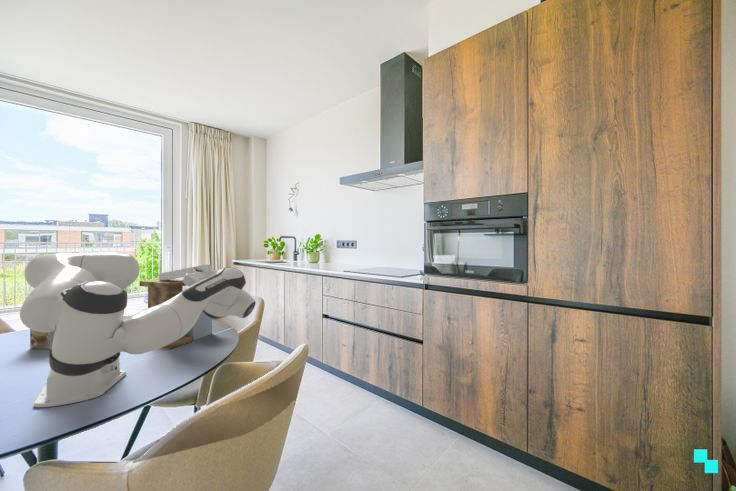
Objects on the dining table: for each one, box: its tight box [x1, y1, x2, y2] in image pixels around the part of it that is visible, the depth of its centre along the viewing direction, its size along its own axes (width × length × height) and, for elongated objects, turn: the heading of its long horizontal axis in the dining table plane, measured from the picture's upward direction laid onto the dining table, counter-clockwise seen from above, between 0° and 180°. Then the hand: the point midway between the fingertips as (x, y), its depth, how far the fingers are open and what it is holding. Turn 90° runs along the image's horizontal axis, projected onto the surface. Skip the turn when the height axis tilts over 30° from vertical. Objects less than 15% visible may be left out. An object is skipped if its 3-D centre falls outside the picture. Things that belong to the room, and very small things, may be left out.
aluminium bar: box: [158, 264, 213, 281], centre depth 125 cm, size 24×4×3 cm, turn 71°
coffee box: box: [29, 329, 55, 350], centre depth 123 cm, size 9×6×16 cm
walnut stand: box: [138, 278, 193, 350], centre depth 128 cm, size 18×10×26 cm, turn 71°
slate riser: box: [184, 311, 213, 342], centre depth 138 cm, size 10×10×15 cm
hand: (197, 268), depth 123 cm, fingers closed on aluminium bar, 4 cm apart
